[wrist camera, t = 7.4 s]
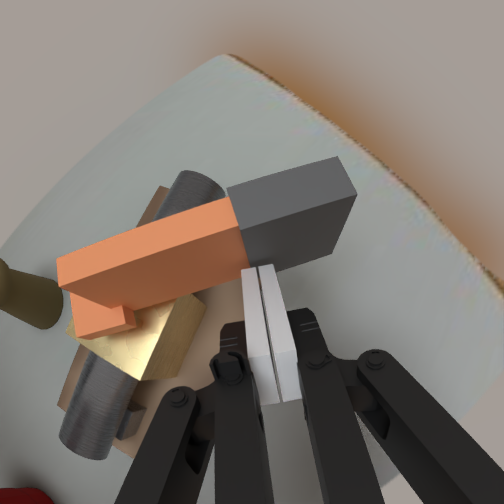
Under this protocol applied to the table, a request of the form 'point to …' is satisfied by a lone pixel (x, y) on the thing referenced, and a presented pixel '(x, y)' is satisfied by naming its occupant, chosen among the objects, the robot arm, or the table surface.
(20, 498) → the plastic cup
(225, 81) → the table surface
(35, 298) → the cork
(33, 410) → the table surface
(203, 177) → the valve body
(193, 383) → the mounting board
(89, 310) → the valve lever
